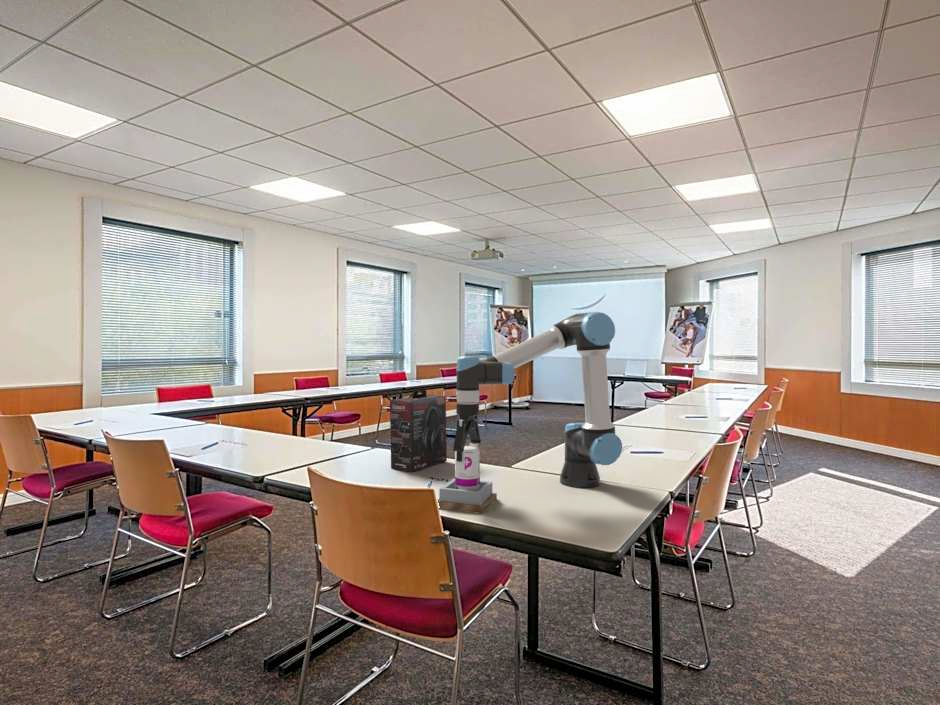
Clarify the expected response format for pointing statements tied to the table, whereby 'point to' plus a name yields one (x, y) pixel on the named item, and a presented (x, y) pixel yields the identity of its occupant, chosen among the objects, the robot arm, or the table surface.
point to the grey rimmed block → (465, 493)
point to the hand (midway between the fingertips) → (467, 466)
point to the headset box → (418, 431)
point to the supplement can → (469, 470)
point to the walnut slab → (468, 505)
